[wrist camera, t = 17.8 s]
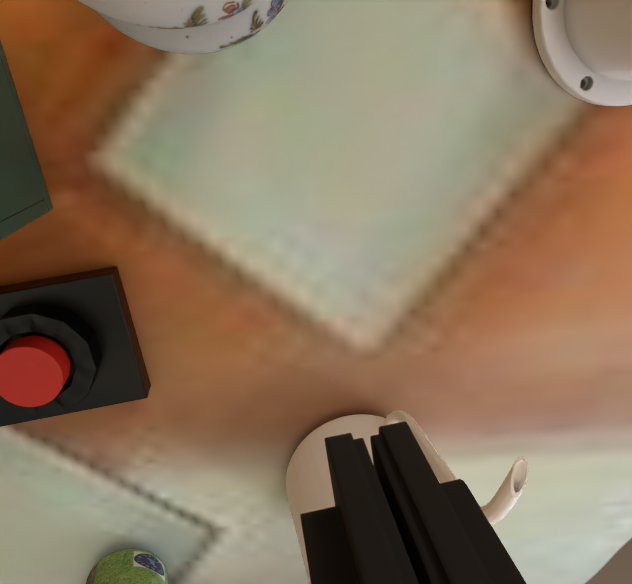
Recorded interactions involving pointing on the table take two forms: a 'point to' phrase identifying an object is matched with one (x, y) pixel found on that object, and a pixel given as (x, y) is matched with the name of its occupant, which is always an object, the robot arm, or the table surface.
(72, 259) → the table surface
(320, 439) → the coffeepot
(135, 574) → the beverage can
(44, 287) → the switch block
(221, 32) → the apothecary jar
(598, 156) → the table surface
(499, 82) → the table surface
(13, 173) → the box
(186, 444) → the table surface
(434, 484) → the robot arm
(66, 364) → the button
